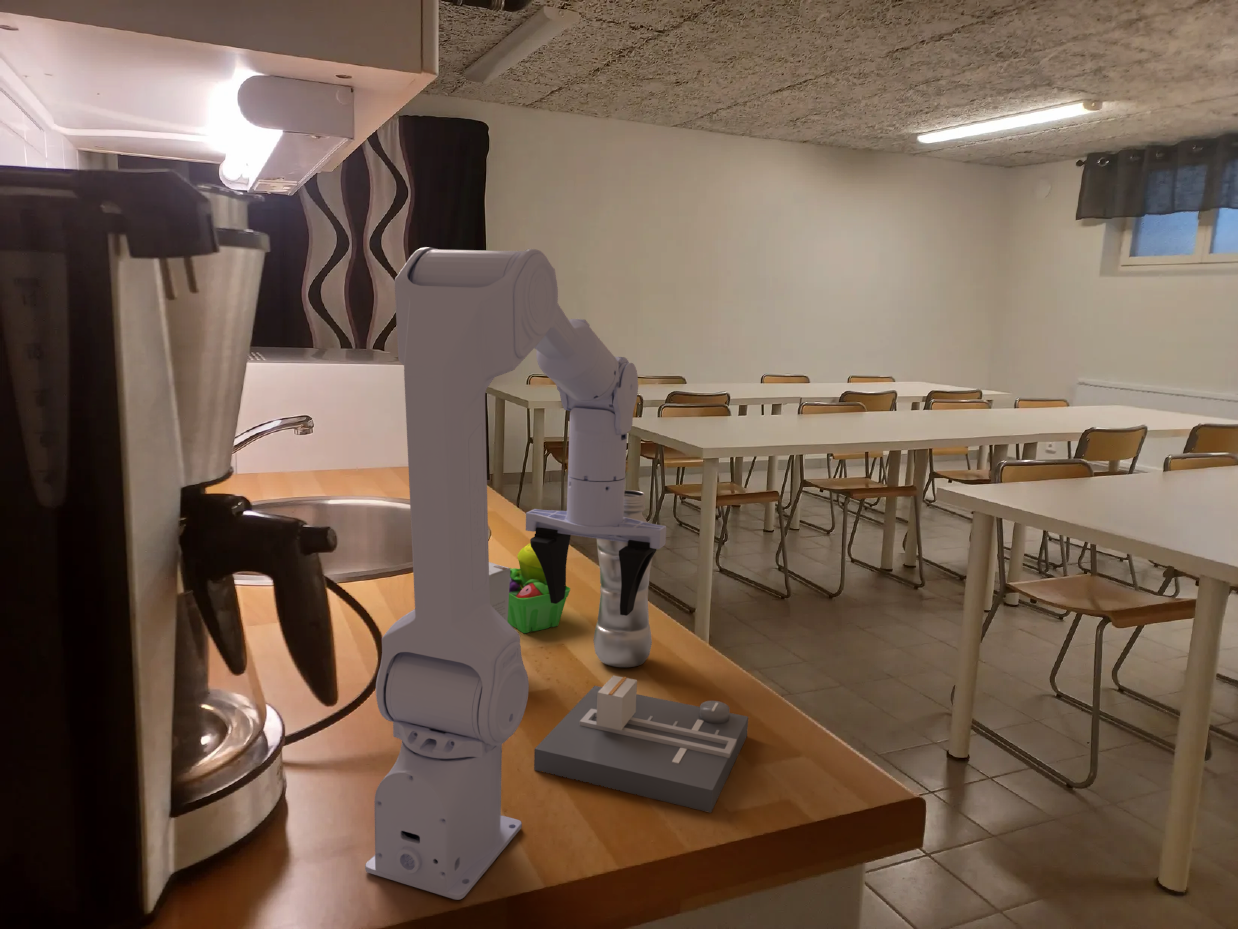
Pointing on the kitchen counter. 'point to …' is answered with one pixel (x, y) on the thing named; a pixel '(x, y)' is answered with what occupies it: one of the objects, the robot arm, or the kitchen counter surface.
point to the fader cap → (616, 702)
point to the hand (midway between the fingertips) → (591, 606)
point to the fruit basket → (531, 596)
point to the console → (649, 749)
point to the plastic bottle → (615, 633)
